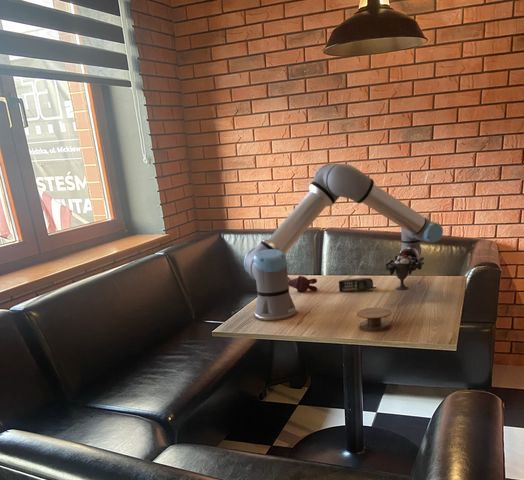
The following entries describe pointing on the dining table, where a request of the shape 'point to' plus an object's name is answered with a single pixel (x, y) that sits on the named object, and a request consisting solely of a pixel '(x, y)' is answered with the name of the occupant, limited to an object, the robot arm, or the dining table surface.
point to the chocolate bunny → (302, 284)
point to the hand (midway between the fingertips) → (400, 271)
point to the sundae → (402, 269)
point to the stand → (374, 319)
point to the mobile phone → (356, 284)
